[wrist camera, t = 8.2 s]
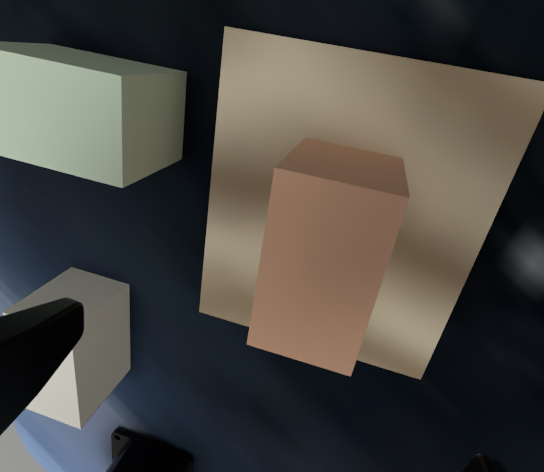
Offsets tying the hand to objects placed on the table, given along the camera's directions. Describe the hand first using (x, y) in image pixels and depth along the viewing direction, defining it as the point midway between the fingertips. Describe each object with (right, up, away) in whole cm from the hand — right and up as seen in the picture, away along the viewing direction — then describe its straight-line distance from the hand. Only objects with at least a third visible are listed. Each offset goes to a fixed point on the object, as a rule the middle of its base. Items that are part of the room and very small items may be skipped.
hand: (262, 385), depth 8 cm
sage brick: (-7, +10, +10) cm, 16 cm away
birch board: (+3, +4, +10) cm, 11 cm away
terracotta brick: (+3, +4, +9) cm, 10 cm away
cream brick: (-11, -2, +17) cm, 20 cm away
